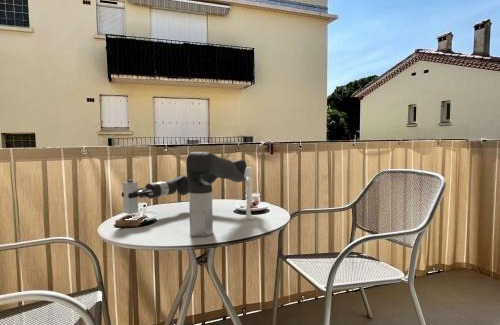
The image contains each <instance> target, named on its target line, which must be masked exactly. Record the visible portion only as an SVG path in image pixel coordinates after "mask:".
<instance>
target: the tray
mask: <svg viewBox="0 0 500 325" xmlns="http://www.w3.org/2000/svg"><path fill="white" fill-rule="evenodd" d="M132 215H133V214H125V215H123V216H121V217H120V218H117V219H116V220H115V221H114V222H115V226H116V227H138V226H141V224H140V221H142V220H143V219H145V218H147V219H148V215H147V214H142V215H143V217H141V218H139V219H137V220H125V219H129V218H132Z"/></svg>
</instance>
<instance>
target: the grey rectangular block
mask: <svg viewBox="0 0 500 325" xmlns="http://www.w3.org/2000/svg"><path fill="white" fill-rule="evenodd" d="M138 186H139V185H138V181H134V179H127V181H122V192H123V197H122V198H123V203H122V204H123V213H124V214H126V215H133V214H136V213H139V198H137V197H135V198H128V194H129V193H135V192H138V189H139V187H138Z"/></svg>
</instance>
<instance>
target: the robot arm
mask: <svg viewBox="0 0 500 325" xmlns="http://www.w3.org/2000/svg"><path fill="white" fill-rule="evenodd" d="M185 164H186V175H179V176H176V177H175V178H173V179H169V180H165V181H154V182H149V183H147V184H145V186H144V187H140V188H139V187H138V192H135V193H129V194H128V198H135V197H137V198H138V199H139V198H142V199H143V198H148V199H149V200H151V199H157V198H162V197H165V196H170V195H173V194H175V193H176V192H177V194H178V195H179V196H186V195H188V196H189V197H188V198H189V199H188V202H189V205H188V206H189V208H188V209H189V235H190V237H202V238H203V237H205V238H206V237H208V236H210V235H213V232H214V230H213V227H214V226H213V224H214V222H213V217H214V216H213V185H212V184H214V183H215V181H216V180H217V179H225V180H230V181H232V182H234V183H241V182H242V183H243V182H245V181H246V178H244V174H245V169H246V167H248V166H247V162H246V160H243V159H237V160H235V161H232V160H230V159H227V158H225V157H219V156H217V155H216V154H214V153H212V152H210V151H191V152H189V153H188V155H187V157H186V162H185ZM121 198H123V191H122V192H121Z"/></svg>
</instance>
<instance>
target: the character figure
mask: <svg viewBox="0 0 500 325" xmlns="http://www.w3.org/2000/svg"><path fill="white" fill-rule="evenodd" d="M253 170H254V168H253V167H251V166H247V167H246V169H245V174H244V178H246V180H245V181H246V188H245V192H244V193H245V194H246V210H245V216H246V218H245V219H246V220H255V217H254V216H253V215H252V213H251V205H252V200H253V199H252V198H253V182H254V181H253V180H254V179H253V178H252V177H253V172H254V171H253Z"/></svg>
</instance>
